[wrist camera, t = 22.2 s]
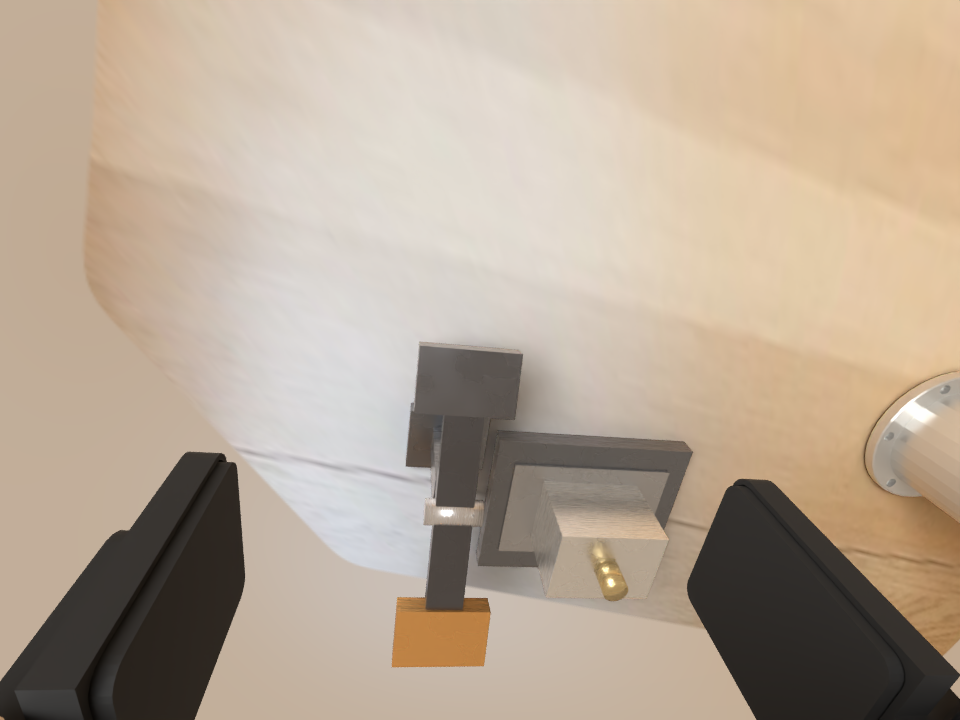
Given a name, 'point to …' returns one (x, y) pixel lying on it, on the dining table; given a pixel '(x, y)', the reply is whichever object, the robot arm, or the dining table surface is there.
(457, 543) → the press lever
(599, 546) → the block
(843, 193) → the dining table surface
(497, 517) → the press bed
